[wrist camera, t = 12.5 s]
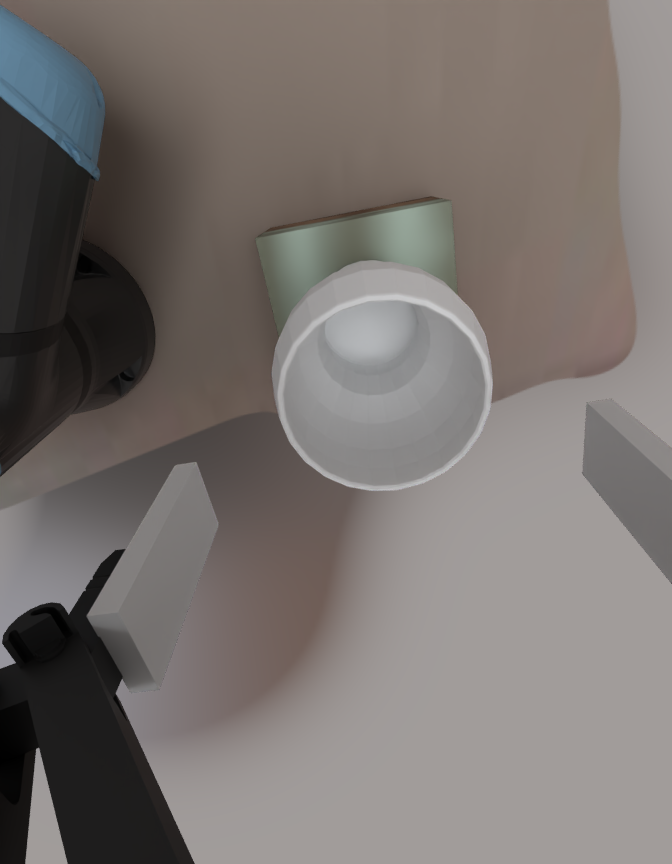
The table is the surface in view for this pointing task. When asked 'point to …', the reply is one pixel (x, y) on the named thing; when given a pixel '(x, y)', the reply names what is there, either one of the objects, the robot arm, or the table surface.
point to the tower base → (356, 247)
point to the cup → (382, 376)
